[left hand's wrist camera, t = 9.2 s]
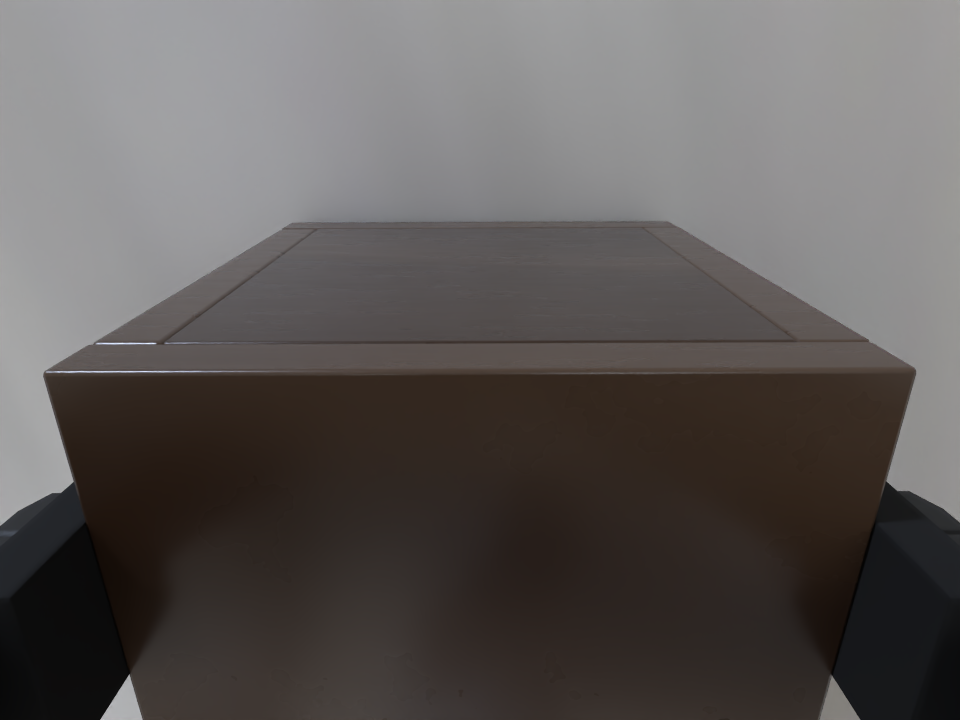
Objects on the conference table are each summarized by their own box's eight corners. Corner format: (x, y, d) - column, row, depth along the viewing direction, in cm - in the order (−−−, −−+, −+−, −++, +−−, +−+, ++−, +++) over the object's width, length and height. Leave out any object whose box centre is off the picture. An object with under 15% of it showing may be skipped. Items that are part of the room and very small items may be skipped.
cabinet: (615, 722, 24) (705, 1132, 14) (348, 722, 24) (260, 1133, 14) (669, 220, 17) (920, 369, 7) (290, 222, 17) (39, 371, 7)
